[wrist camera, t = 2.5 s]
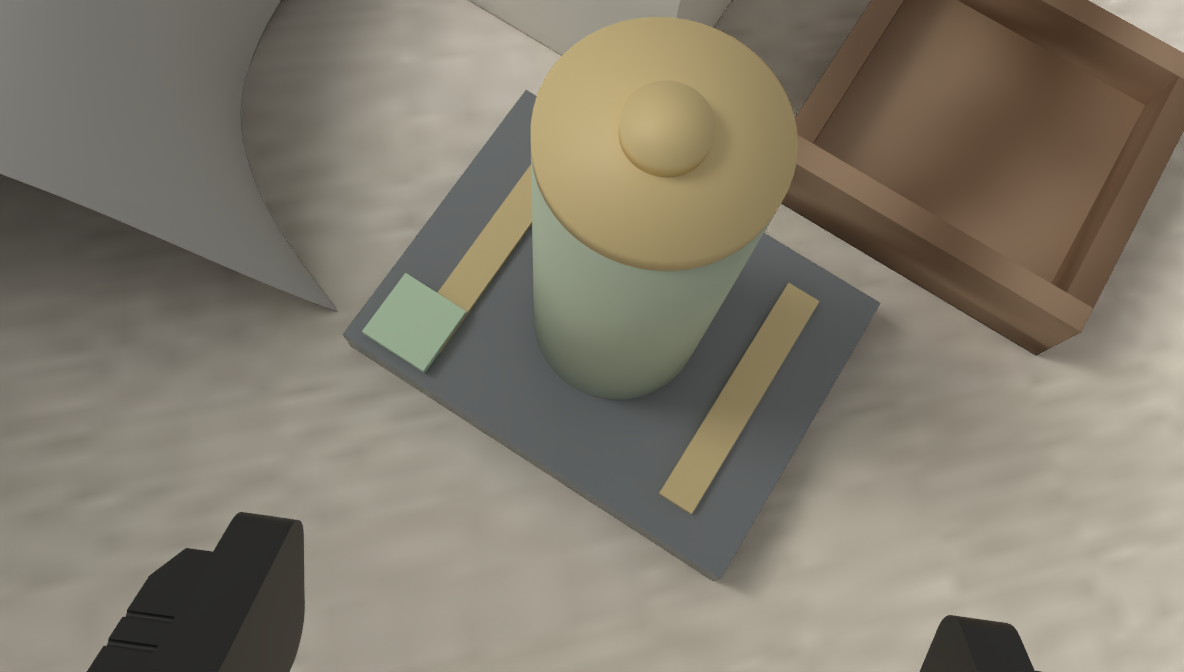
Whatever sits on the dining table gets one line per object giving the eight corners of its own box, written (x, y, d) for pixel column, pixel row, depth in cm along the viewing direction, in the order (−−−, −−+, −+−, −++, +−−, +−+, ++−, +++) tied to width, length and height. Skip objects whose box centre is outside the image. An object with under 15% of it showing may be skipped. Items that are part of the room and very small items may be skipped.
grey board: (350, 345, 28) (339, 330, 26) (526, 109, 30) (525, 82, 29) (712, 580, 27) (723, 578, 25) (867, 315, 29) (885, 298, 27)
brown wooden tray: (755, 187, 30) (774, 150, 28) (899, -36, 32) (928, -88, 30) (1036, 355, 29) (1081, 331, 27) (1162, 112, 31) (1214, 70, 29)
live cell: (501, 341, 27) (475, 156, 16) (591, 211, 28) (624, -42, 17) (644, 431, 26) (716, 305, 16) (729, 296, 28) (852, 90, 17)
